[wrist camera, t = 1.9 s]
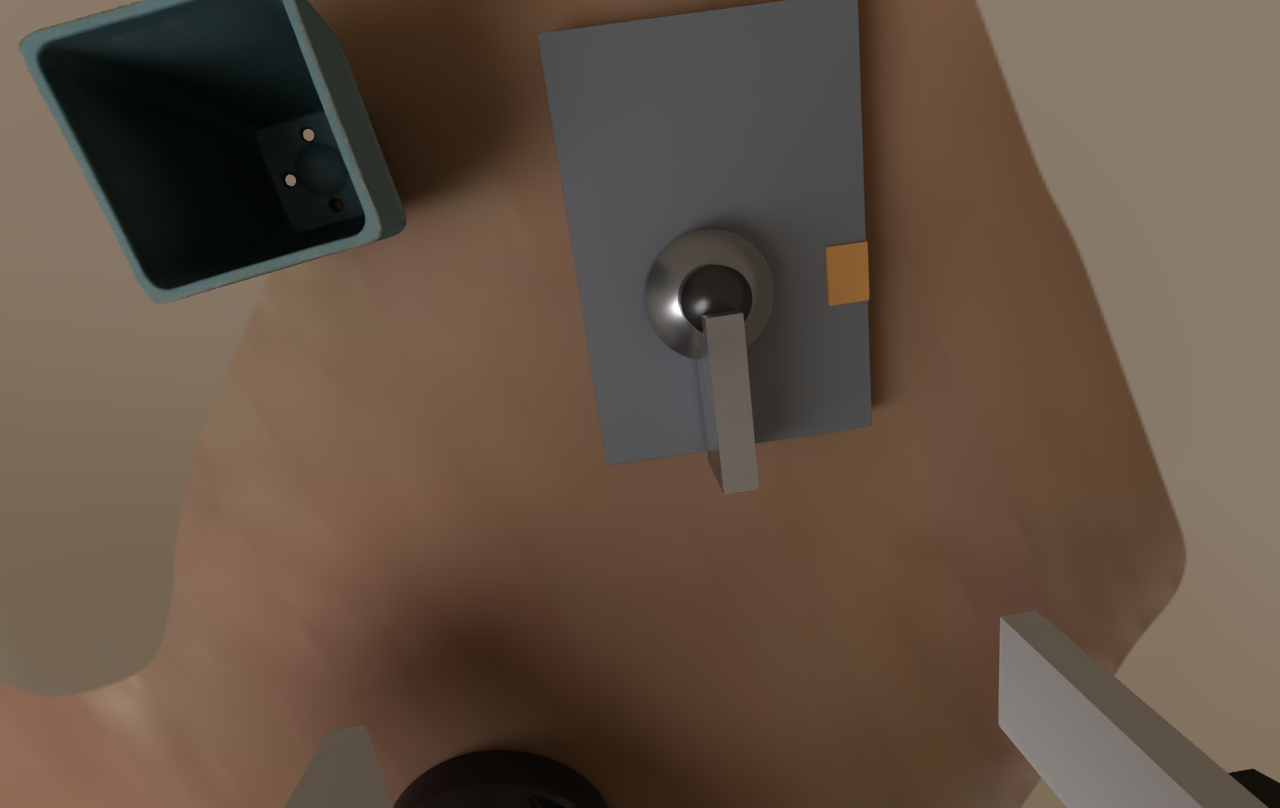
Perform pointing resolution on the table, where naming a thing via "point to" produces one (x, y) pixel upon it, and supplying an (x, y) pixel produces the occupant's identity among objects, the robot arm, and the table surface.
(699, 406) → the dial plate
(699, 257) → the dial lever
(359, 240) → the flower pot
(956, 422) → the table surface
